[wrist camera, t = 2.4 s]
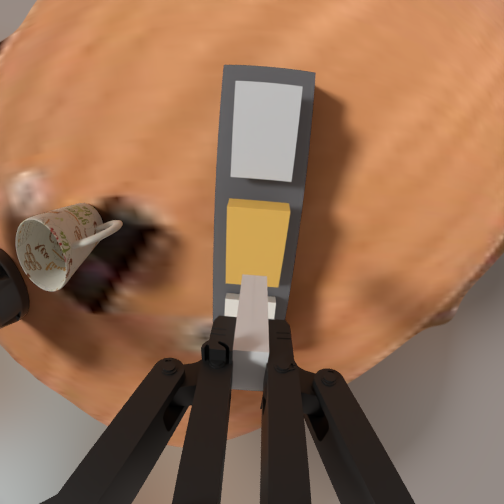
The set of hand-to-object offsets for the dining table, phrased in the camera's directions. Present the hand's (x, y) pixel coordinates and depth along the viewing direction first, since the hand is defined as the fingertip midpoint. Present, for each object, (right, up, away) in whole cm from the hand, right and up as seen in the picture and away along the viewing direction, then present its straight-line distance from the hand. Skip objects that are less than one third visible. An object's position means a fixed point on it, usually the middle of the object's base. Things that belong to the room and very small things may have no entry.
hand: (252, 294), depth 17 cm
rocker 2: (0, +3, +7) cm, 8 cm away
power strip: (0, +3, +14) cm, 15 cm away
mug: (-20, +7, +14) cm, 25 cm away
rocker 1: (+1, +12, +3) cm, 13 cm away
